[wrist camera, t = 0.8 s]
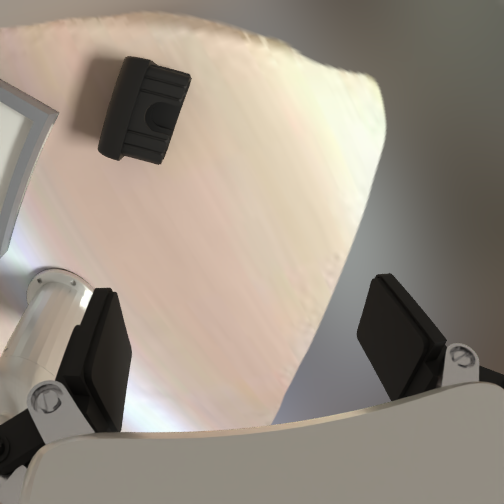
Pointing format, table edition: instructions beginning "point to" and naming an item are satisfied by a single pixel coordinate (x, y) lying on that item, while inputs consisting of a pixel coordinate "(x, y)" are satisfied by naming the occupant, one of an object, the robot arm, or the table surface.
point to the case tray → (19, 151)
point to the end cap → (143, 111)
